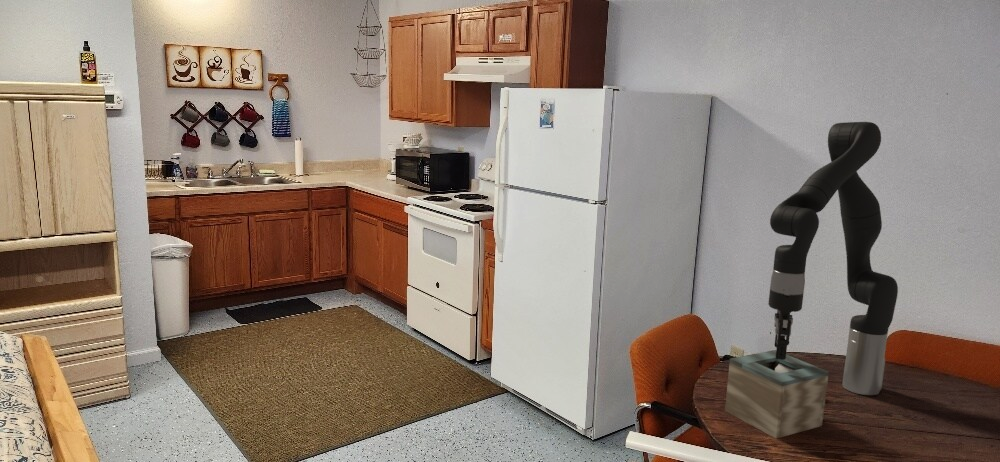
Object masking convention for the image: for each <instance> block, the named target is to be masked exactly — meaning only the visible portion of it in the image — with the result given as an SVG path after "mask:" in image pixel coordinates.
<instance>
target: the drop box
mask: <svg viewBox="0 0 1000 462" xmlns="http://www.w3.org/2000/svg"><path fill="white" fill-rule="evenodd" d="M779 363H782V364H785V365H787V366H789V367H792V368H794V369H796V370H794V371H789V372H784V373H778V372H776V371H774V370H775V368H776V367H777V366H778V364H779ZM829 374H830V372H829V370H826V369H823V368H821V367H818V366H816V365H813V364H811V363H809V362H806V361H804V360H801V359H798V358H796V357H793V356H791V355H788V354H786V359H785V360H781V359H777V358H776V349H774V350H768V351H762V352H757V353H752V354H746V355H741V356H738V357H732V358H729V366H728V375H727V376H728V377H727V384H726V385H727V387H726V395H725V397H726V398H725V407H724V412H726V413H728V414H729V415H731V416H734V417H735V418H737V419H739V420H741V421H743V422H745V424H748V425H750V426H752V427H754V428H756V429H757V430H759V431H761V432H763V433H765V434H767V435H768V436H770V437H772V438H774V439H776V440H777V439H780V438H783V437H788V436H790V435H794V434H797V433H800V432H805V431H809V430H812V429H813V430H814V429H816V428H820V427H823V421H824V420H823V419H824V414H825V413H824V412H825V404H826V396H827V390H828V381H829Z"/></svg>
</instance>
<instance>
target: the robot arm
mask: <svg viewBox="0 0 1000 462" xmlns="http://www.w3.org/2000/svg"><path fill="white" fill-rule="evenodd" d="M881 142H882V132H881V129H880V128H879V126H878V124H876V123H874V122H871V121H853V122H852V121H849V122H836V123H835V124H834V123H833V125H832V126H831V127H830V128H829V131H828V136H827V146H828V153H829V157H830V162H829V163H827V164H825V165H823V166H822V167H820V168H818V169H817V170H816V171H815V172H813V173H812V174H811V175H810V176H809V177H807V179H806V181H804V183H803V184H802V186H801V187H800V188H799V189H798V191H797V192H795V193H794V194H791V195H790V196H789V197H787V198H786V199H785V200H783V201H782V202H781V203H779V204H778V205H777V206H776V207H775V208H774V210H773V211H772V213H771V214H770V218H769V219H770V220H769V225H770V227H771V230H773V232H774V233H775V234H779V235H783V236H788V237H793V238H795V239H794V241H793V243H792V244H781V245H778V246H777V247H776V248H775V251H774V259H773V268H772V274H771V279H770V285H769V296H768V303H767V304H768V306H769V307H770V308H771V309H774V310H776V312H774V323H773V324H774V327H775V328H774V333H775V335H774V336H775V337H774V347H775V350H776V358H777V359H781V360H785V359H786V355H787V351H788V350H787V349H788V346H789V345H790V337H791V335H792V325H793V323H794V318H793V314H791V313H792V312H794V313H796V312H800V311H801V310H802V309H803V301H804V293H805V284H806V278H805V277H806V275H805V273H806V264H807V257H808V254H809V251H810V249H811V246H812V244H813V241H814V239H815V237H816V235H817V231H818V229H819V225H820V219H819V216H818V214H817V213H820V212H821V211H822V210H823V209H825V208H826V206H827V205H828V203H829V202H830V201H831V199H832V198H833V196H834V195H835V194H836V193H838V201H839V209H840V210H839V211H840V217H841V224H842V229H843V236H844V244H845V252H846V254H845V255H846V281H847V289H848V290H847V291H848V294H849V296H850V297H851V299H853V300H854V301H855V302H858V303H860V304H864V305H866V306H867V310H866V313H865V314H857V315H854V316H852V317H851V319H850V324H849V330H848V331H849V332H848V339H847V347H846V353H845V363H844V368H843V376H842V388H844V389H845V390H847V391H849V392H851V393H854V394H856V395H857V394H858V395H864V396H875V395H879V394H880V391H882V388H883V380H884V372H885V364H886V357H885V354H886V348H887V341H888V333H889V328H890V327H891V324H892V322H893V318H894V314H895V308H896V304H897V299H898V293H899V287H898V283H897V280H896V279H895V278H894V277H892V276H891V275H887V274H884V273H883V274H882V273H881V272H877V271H873V269H872V264H871V251H872V247H874V245H875V243H876V241H877V240H878V238H879V236H880V234H881V231H882V228H883V227H882V225H883V224H882V222H883V221H882V213H881V212H882V211H881V206H880V203H879V202H880V201H878V198H877V197H876V196H875V194H874V192H873V191H872V190H871V189H870V188H869V187H868V185H867V184H866V183H865V182H864V180H863V179H862V178H861V177H860V175H859V173H858V171H859V170H860V169H861V168H862V167H863V166H864V165H865V164H866V163H868V162H869V161H870V160H871V159H872V158H873V157H874V156H875V155H876V154H877V152H878V150H879V149H880V146H881Z"/></svg>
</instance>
